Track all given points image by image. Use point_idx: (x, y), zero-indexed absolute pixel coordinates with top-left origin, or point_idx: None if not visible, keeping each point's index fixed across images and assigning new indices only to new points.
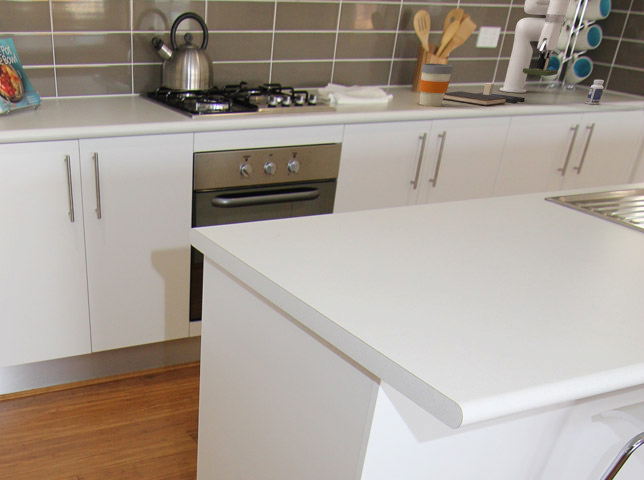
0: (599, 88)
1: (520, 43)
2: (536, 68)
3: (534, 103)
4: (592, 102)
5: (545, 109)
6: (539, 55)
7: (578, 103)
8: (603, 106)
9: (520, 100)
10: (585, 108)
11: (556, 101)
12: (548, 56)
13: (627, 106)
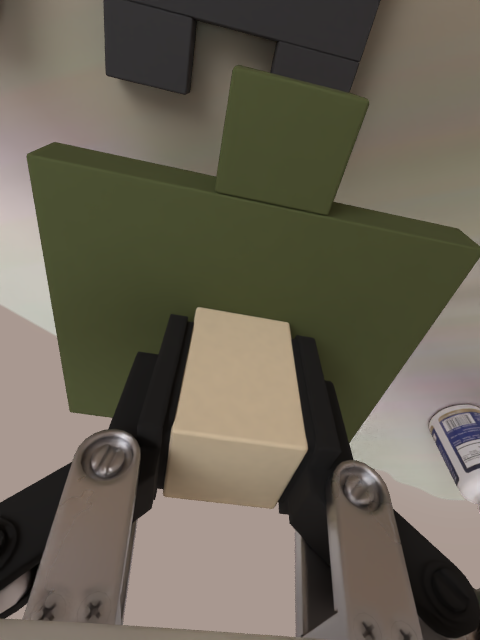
0: (459, 490)
1: None
2: (463, 263)
3: None
4: (431, 427)
5: (49, 308)
6: (65, 480)
7: (441, 383)
8: (392, 447)
9: None
10: None
11: (472, 301)
12: (297, 532)
13: (448, 487)
